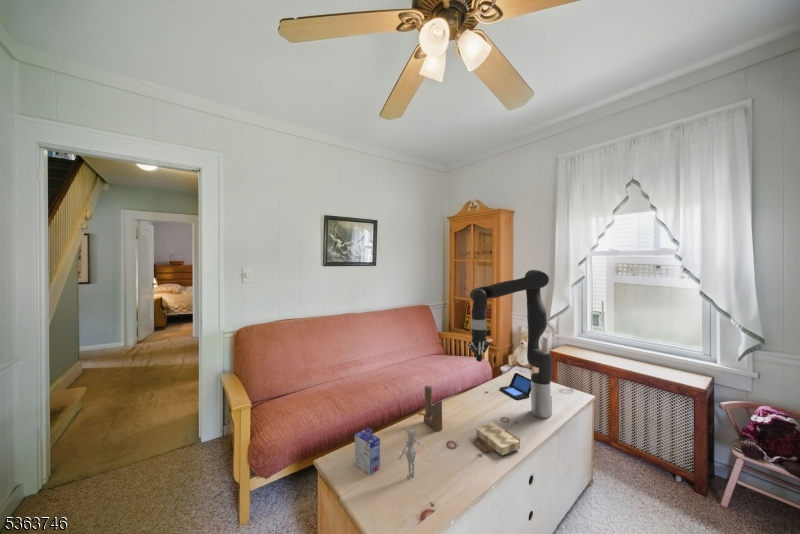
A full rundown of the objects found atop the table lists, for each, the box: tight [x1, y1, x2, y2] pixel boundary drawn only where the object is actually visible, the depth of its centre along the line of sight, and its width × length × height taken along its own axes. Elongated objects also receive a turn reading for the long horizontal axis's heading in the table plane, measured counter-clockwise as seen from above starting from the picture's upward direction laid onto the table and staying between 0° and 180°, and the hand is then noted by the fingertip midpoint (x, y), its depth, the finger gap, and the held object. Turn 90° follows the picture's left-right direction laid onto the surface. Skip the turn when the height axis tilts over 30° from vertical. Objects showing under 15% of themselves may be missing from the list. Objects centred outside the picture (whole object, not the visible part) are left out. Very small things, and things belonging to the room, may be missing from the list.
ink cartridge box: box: [354, 427, 381, 476], centre depth 115 cm, size 10×6×14 cm, turn 47°
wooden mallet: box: [423, 385, 443, 432], centre depth 143 cm, size 4×11×18 cm, turn 30°
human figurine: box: [398, 428, 424, 480], centre depth 109 cm, size 12×4×18 cm, turn 128°
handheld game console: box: [499, 372, 531, 401], centre depth 176 cm, size 16×13×9 cm
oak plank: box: [475, 422, 521, 456], centre depth 128 cm, size 10×3×16 cm
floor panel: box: [473, 429, 521, 455], centre depth 129 cm, size 19×8×1 cm, turn 115°
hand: (479, 361), depth 150 cm, fingers closed
